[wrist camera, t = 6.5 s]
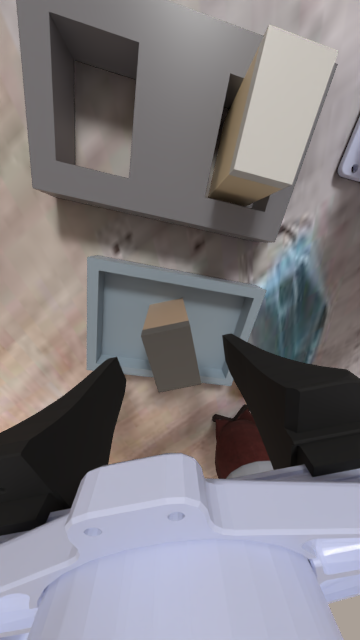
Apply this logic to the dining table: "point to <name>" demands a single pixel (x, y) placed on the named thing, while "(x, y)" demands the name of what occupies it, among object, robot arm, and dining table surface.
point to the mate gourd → (239, 446)
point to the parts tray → (154, 287)
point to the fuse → (271, 118)
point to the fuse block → (143, 107)
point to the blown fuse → (170, 346)
